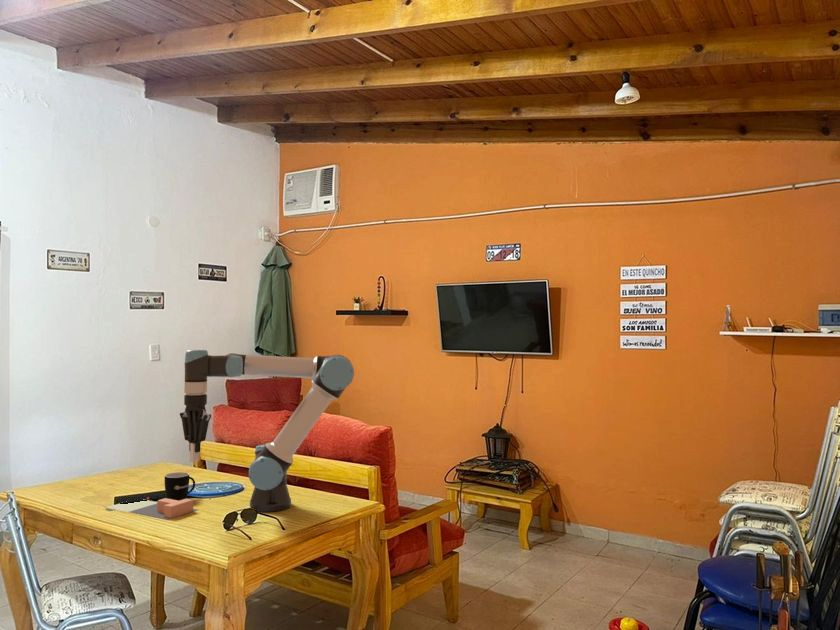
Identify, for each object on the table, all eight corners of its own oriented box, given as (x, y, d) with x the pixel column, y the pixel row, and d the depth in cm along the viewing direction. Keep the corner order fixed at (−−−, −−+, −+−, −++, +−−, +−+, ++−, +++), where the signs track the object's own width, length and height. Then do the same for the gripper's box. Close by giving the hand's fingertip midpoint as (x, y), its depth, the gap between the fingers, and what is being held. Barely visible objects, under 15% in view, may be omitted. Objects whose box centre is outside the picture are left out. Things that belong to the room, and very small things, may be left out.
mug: (171, 505, 241) (171, 478, 242) (159, 501, 247) (160, 474, 247) (200, 499, 250) (201, 473, 251) (188, 495, 256) (189, 469, 256)
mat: (198, 512, 234) (198, 509, 234) (167, 522, 221) (167, 520, 221) (137, 500, 248) (137, 498, 248) (105, 509, 236) (105, 507, 236)
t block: (193, 510, 232) (193, 499, 232) (170, 518, 223) (171, 506, 223) (172, 507, 237) (172, 496, 237) (149, 514, 228) (149, 502, 228)
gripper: (217, 393, 226) (216, 461, 226) (190, 391, 232) (189, 457, 232) (201, 395, 219) (200, 465, 219) (173, 393, 225) (172, 461, 225)
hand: (194, 461), depth 225 cm, fingers closed
